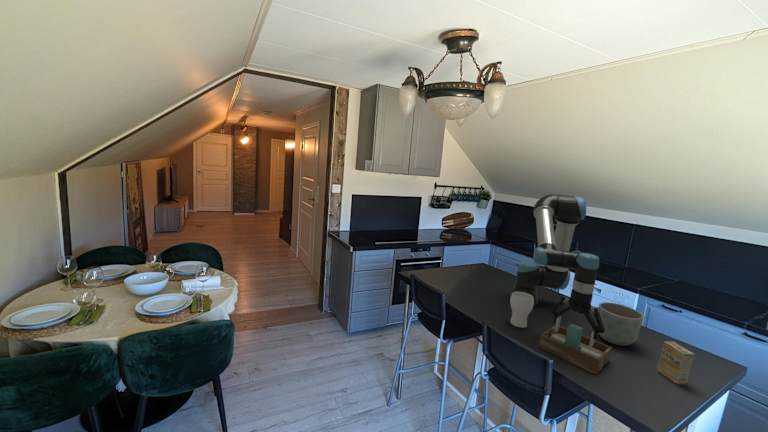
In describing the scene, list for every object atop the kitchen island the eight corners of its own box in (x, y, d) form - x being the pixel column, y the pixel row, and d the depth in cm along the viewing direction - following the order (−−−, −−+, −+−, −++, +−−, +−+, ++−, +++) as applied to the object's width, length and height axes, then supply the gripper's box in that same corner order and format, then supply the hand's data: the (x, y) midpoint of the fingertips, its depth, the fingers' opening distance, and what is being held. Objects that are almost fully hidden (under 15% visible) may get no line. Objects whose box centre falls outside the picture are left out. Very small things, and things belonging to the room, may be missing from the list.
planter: (628, 336, 158) (635, 306, 155) (643, 354, 142) (650, 322, 139) (588, 328, 163) (594, 299, 160) (598, 345, 147) (605, 313, 144)
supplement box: (655, 370, 130) (663, 340, 128) (666, 371, 131) (674, 341, 129) (675, 385, 122) (683, 353, 120) (687, 385, 123) (695, 353, 121)
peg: (567, 349, 141) (571, 323, 139) (578, 354, 138) (583, 327, 136) (562, 352, 139) (567, 326, 137) (574, 357, 135) (579, 330, 133)
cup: (532, 330, 155) (537, 301, 153) (509, 327, 157) (513, 297, 155) (527, 320, 166) (531, 292, 163) (505, 317, 168) (509, 289, 165)
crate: (554, 336, 151) (556, 324, 150) (609, 360, 135) (611, 347, 134) (538, 347, 141) (540, 334, 140) (596, 374, 125) (598, 360, 124)
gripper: (547, 282, 141) (539, 327, 145) (614, 304, 122) (604, 355, 126) (554, 279, 146) (547, 323, 150) (620, 300, 127) (610, 349, 131)
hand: (573, 338), depth 138 cm, fingers open, 13 cm apart
